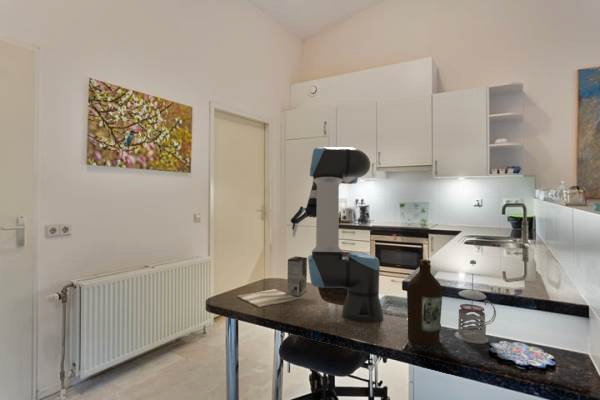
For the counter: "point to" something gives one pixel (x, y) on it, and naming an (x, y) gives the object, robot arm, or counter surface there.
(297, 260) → the coffee box
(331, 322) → the counter surface
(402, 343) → the counter surface
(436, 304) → the olive oil
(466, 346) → the counter surface
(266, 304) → the board
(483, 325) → the french press
